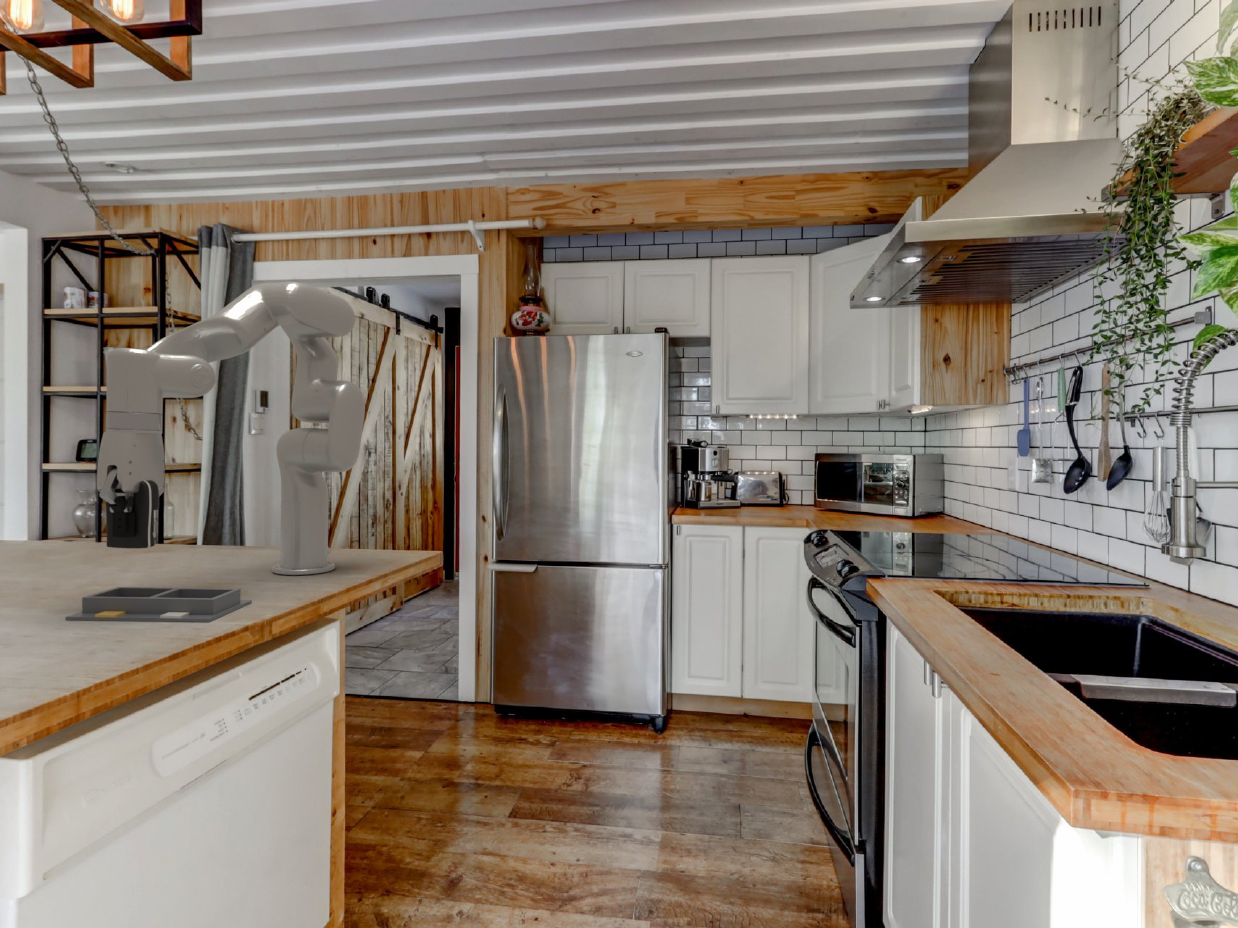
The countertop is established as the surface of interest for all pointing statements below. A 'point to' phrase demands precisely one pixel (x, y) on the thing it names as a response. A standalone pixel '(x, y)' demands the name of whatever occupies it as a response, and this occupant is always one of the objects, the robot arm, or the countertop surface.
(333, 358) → the robot arm
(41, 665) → the countertop surface
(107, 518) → the battery charger
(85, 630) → the countertop surface
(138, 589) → the dock
